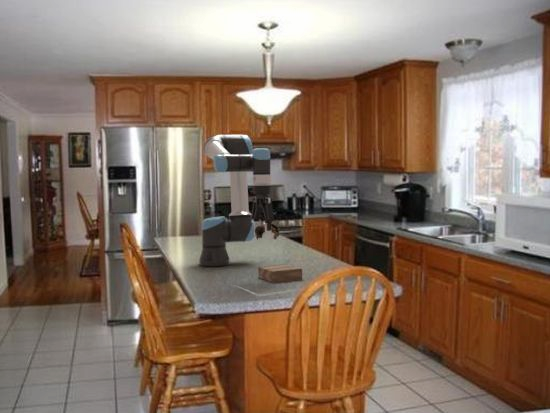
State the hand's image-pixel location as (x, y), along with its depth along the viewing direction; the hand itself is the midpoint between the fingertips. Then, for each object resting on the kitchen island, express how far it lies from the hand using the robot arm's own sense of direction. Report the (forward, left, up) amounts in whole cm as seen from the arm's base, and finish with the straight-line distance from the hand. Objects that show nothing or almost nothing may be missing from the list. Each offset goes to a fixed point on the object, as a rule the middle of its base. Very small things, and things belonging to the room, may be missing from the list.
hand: (262, 237), depth 240 cm
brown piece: (0, 0, -2) cm, 2 cm away
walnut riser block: (+3, +7, -18) cm, 20 cm away
